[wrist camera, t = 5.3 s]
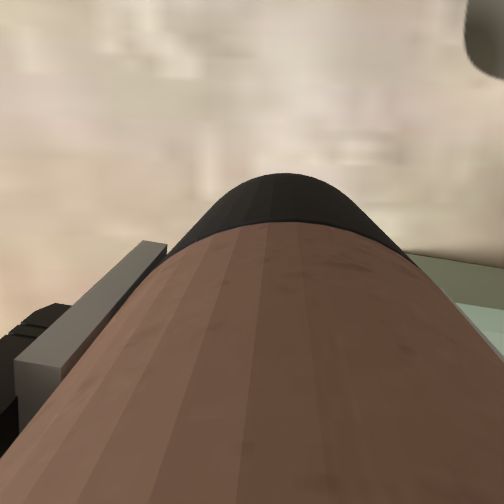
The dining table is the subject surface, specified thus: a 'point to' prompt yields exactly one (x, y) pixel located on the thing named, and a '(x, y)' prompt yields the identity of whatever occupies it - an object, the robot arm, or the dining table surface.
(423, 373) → the travel mug
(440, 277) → the tray
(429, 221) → the dining table surface
